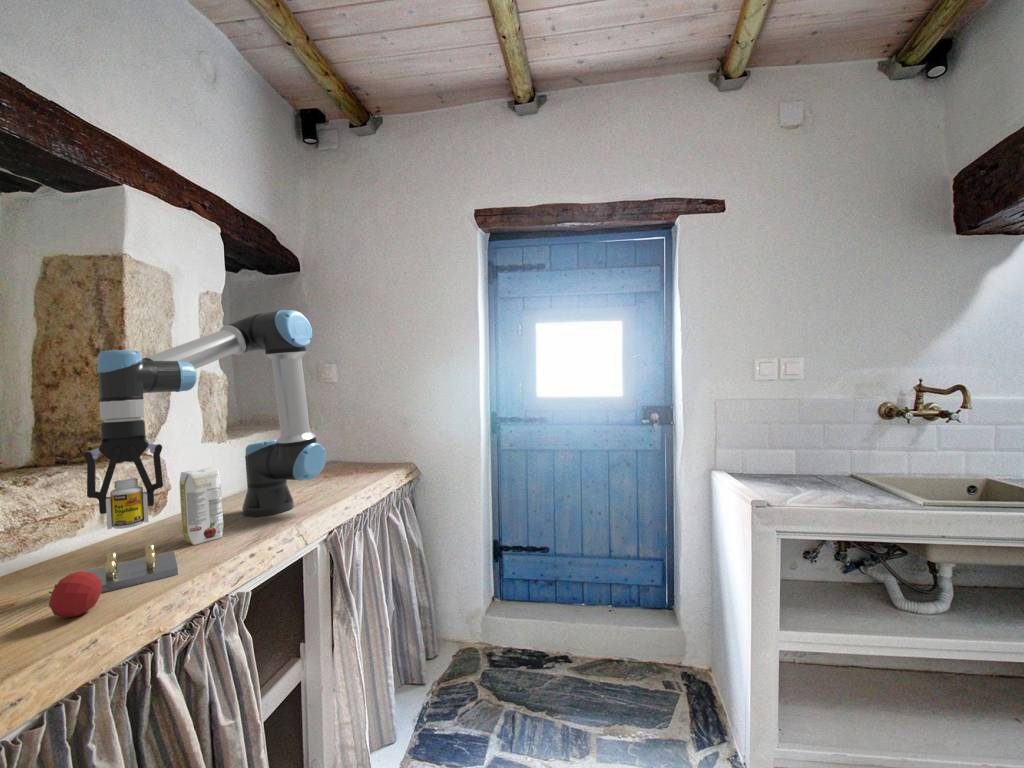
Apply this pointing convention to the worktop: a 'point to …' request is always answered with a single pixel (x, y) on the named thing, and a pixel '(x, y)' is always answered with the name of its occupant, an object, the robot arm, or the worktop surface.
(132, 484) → the supplement bottle
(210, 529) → the juice carton
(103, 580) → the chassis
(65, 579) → the tomato
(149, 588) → the worktop surface
